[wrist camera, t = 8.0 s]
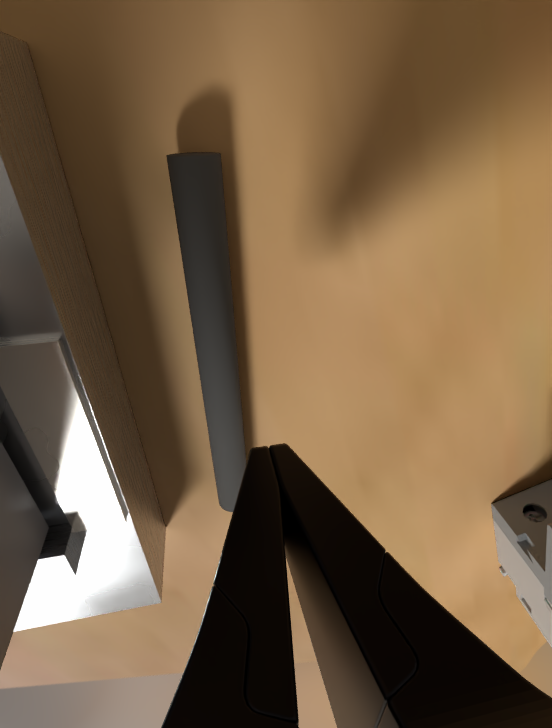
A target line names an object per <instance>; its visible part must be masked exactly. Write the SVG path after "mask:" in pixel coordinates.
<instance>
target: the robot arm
mask: <svg viewBox="0 0 552 728" xmlns="http://www.w3.org/2000/svg"><path fill="white" fill-rule="evenodd" d="M385 551H386V550H385V548H384V547H383V546H382V545H381V544H380V543H379V542H378V541H377V540H376V539H375V538H374V537H373V536H372V534H371V533H370V532H369V531H368V530H367V529H366V528H365V527H364V526H363V525H362V524H361V523H360V522H359V521H358V520H357V518H356V517H355V516H354V515H353V514H352V513H351V512H350V511H349V510H348V509H347V508H346V507H345V506H344V505H343V503H342V502H341V501H340V500H339V499H338V498H337V497H336V496H335V495H334V494H333V493H332V492H331V491H330V490H329V489H328V487H327V486H326V485H325V484H324V483H323V482H322V481H321V480H320V479H319V478H318V477H317V476H316V475H315V474H314V472H313V471H312V470H311V469H310V468H309V467H308V466H307V465H306V464H305V463H304V462H303V461H302V460H301V459H300V458H299V456H298V455H297V454H296V453H295V452H294V451H293V450H292V449H291V448H290V447H289V446H288V445H287V444H285V443H283V444H276V445H271V446H270V447H269V448H268V447H267V446H263V447H256V448H252V449H251V450H250V453H249V457H248V460H247V464H246V468H245V471H244V475H243V478H242V482H241V486H240V489H239V493H238V496H237V500H236V503H235V507H234V511H233V514H232V518H231V521H230V525H229V529H228V532H227V536H226V539H225V543H224V546H223V550H222V554H221V557H220V561H219V564H218V568H217V571H216V575H215V579H214V582H213V584H214V586H213V587H212V589H211V592H210V596H209V599H208V603H207V606H206V610H205V613H204V616H203V619H202V622H201V626H200V629H199V632H198V635H197V638H196V641H195V643H194V646H193V649H192V652H191V654H190V657H189V660H188V662H187V665H186V668H185V670H184V673H183V675H182V678H181V680H180V683H179V685H178V688H177V690H176V693H175V695H174V698H173V700H172V703H171V705H170V708H169V710H168V712H167V715H166V717H165V720H164V722H163V725H162V727H161V728H299V727H298V709H297V708H298V707H297V695H296V683H295V669H294V657H293V644H292V631H291V619H290V606H289V593H288V580H287V568H286V558H287V562H288V565H289V568H290V572H291V575H292V578H293V582H294V585H295V588H296V592H297V595H298V598H299V602H300V605H301V608H302V612H303V615H304V618H305V622H306V625H307V628H308V632H309V635H310V638H311V642H312V645H313V648H314V652H315V655H316V658H317V661H318V665H319V668H320V671H321V675H322V678H323V681H324V685H325V688H326V691H327V695H328V698H329V701H330V705H331V708H332V711H333V714H334V718H335V721H336V725H337V728H552V698H551V697H550V696H548V695H547V694H545V693H544V692H542V691H541V690H539V689H538V688H537V687H535V686H534V685H533V684H531V683H530V682H529V681H527V680H526V679H525V678H523V677H522V676H521V675H520V674H519V673H518V672H516V671H515V670H514V669H513V668H512V667H511V666H510V665H508V664H507V663H506V662H505V661H504V660H503V659H502V658H500V657H499V656H498V655H497V654H496V653H495V652H494V651H493V650H491V649H490V648H489V647H488V646H487V645H486V644H485V643H483V642H482V641H481V640H480V639H479V638H478V637H477V636H476V635H474V634H473V633H472V632H471V631H470V630H469V629H468V628H466V627H465V626H464V625H463V624H462V623H461V622H460V621H459V620H457V619H456V618H455V617H454V616H453V615H452V614H451V613H449V612H448V611H447V610H446V609H445V608H444V607H443V606H442V605H441V604H440V603H438V602H437V601H436V600H435V599H434V598H433V597H432V596H431V595H430V594H429V593H428V592H427V591H425V590H424V589H423V588H422V587H421V586H420V585H419V584H418V583H417V582H416V581H415V580H414V579H413V578H412V577H411V576H410V575H409V574H408V573H407V572H406V571H405V570H404V568H403V567H402V566H401V565H400V564H399V563H398V562H397V561H396V560H395V559H394V558H393V557H392V556H391V555H390V553H388V552H386V553H385Z"/></svg>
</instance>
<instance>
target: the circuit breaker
mask: <svg viewBox="0 0 552 728" xmlns="http://www.w3.org/2000/svg"><path fill="white" fill-rule="evenodd" d="M491 506H492V514H493V522H494V529H495V537H496V545H497V553H498V561H499V563H500V564H501V566H502V567H500V568H499V569H500V572H501V573H502V575H503V576H506V575H508V576H509V577H510V579H511V580H512V582H513V583H514V585H515V586H516V595H517V597H518V598H519V600H520V601H521V603H522V604H523V606H524V607H525V609H526V610H527V612H528V613H529V615H530V616H531V618H532V619H533V621H534V622H535V624H536V625H537V627H538V628H539V630H540V631H541V633H542V634H543V635H544V637H545V638H546V640H547V641H548V643H549V644H550V646H551V647H552V479H550V480H548V481H546V482H543V483H541V484H538V485H536V486H533V487H531V488H529V489H526V490H524V491H521V492H519V493H517V494H514V495H512V496H509V497H507V498H504V499H502V500H500V501H497V502H495V503H492V504H491ZM528 506H530V510H528V511H526V512H524V513H523V509H524V508H526V507H528Z"/></svg>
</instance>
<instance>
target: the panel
mask: <svg viewBox="0 0 552 728" xmlns="http://www.w3.org/2000/svg"><path fill="white" fill-rule="evenodd" d="M0 441H1V443H2V444H3V446H4V448H5V450H6V451H7V453H8V455H9V457H10V459H11V460H12V462H13V464H14V466H15V468H16V469H17V471H18V473H19V475H20V476H21V478H22V480H23V482H24V484H25V485H26V487H27V489H28V491H29V493H30V494H31V496H32V498H33V500H34V501H35V503H36V505H37V507H38V509H39V510H40V512H41V514H42V516H43V518H44V519H45V521H46V523H47V525H48V526H49V529H48V532H47V535H46V538H45V541H44V544H43V547H42V550H41V553H40V556H39V559H38V561H37V564H36V567H35V570H34V573H33V576H32V579H31V582H30V585H29V588H28V591H27V593H26V596H25V599H24V602H23V605H22V608H21V611H20V614H19V617H18V620H17V623H16V625H15V628H14V631H13V632H15V631H20V630H25V629H30V628H35V627H40V626H45V625H50V624H55V623H60V622H66V621H71V620H76V619H81V618H86V617H91V616H96V615H101V614H106V613H111V612H117V611H122V610H127V609H132V608H137V607H142V606H147V605H152V604H157V603H161V602H162V585H163V569H164V553H165V536H166V527H165V524H164V520H163V517H162V513H161V510H160V506H159V503H158V499H157V496H156V492H155V489H154V485H153V482H152V478H151V475H150V471H149V468H148V464H147V461H146V457H145V454H144V450H143V447H142V443H141V440H140V437H139V433H138V430H137V426H136V423H135V419H134V416H133V412H132V409H131V405H130V402H129V398H128V395H127V391H126V388H125V384H124V381H123V377H122V374H121V370H120V367H119V363H118V360H117V356H116V353H115V349H114V346H113V342H112V339H111V335H110V332H109V328H108V325H107V321H106V318H105V314H104V311H103V307H102V304H101V300H100V297H99V293H98V290H97V286H96V283H95V279H94V276H93V272H92V269H91V265H90V262H89V258H88V255H87V251H86V248H85V244H84V241H83V237H82V234H81V230H80V227H79V223H78V220H77V216H76V213H75V209H74V206H73V202H72V199H71V195H70V192H69V188H68V185H67V181H66V178H65V174H64V171H63V167H62V164H61V160H60V157H59V153H58V150H57V146H56V143H55V140H54V136H53V133H52V129H51V126H50V122H49V119H48V115H47V112H46V108H45V105H44V101H43V98H42V94H41V91H40V87H39V84H38V80H37V77H36V73H35V70H34V66H33V63H32V59H31V56H30V52H29V49H28V45H27V43H26V42H24V41H21V40H19V39H17V38H14V37H12V36H10V35H8V34H5V33H3V32H1V31H0Z"/></svg>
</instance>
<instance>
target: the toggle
mask: <svg viewBox="0 0 552 728" xmlns="http://www.w3.org/2000/svg"><path fill="white" fill-rule="evenodd" d="M48 529H49V526H48V525H47V523H46V521H45V519H44V518H43V516H42V514H41V512H40V510H39V509H38V507H37V505H36V503H35V501H34V500H33V498H32V496H31V494H30V493H29V491H28V489H27V487H26V485H25V484H24V482H23V480H22V478H21V476H20V475H19V473H18V471H17V469H16V468H15V466H14V464H13V462H12V460H11V459H10V457H9V455H8V453H7V451H6V450H5V448H4V446H3V444H2V443H1V441H0V669H1V666H2V663H3V660H4V657H5V655H6V652H7V649H8V646H9V643H10V640H11V637H12V634H13V631H14V628H15V625H16V623H17V620H18V617H19V614H20V611H21V608H22V605H23V602H24V599H25V596H26V593H27V591H28V588H29V585H30V582H31V579H32V576H33V573H34V570H35V567H36V564H37V561H38V559H39V556H40V553H41V550H42V547H43V544H44V541H45V538H46V535H47V532H48Z"/></svg>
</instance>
